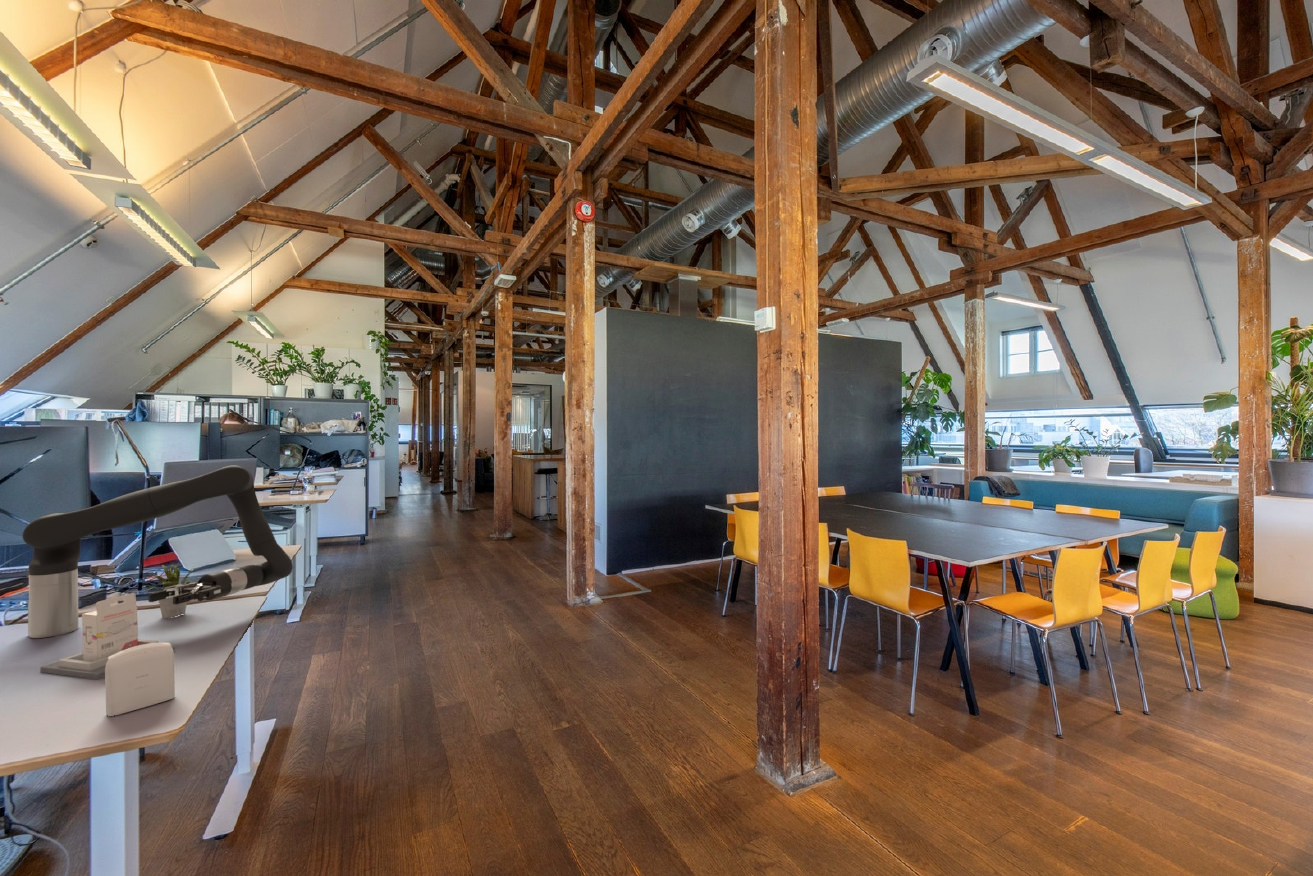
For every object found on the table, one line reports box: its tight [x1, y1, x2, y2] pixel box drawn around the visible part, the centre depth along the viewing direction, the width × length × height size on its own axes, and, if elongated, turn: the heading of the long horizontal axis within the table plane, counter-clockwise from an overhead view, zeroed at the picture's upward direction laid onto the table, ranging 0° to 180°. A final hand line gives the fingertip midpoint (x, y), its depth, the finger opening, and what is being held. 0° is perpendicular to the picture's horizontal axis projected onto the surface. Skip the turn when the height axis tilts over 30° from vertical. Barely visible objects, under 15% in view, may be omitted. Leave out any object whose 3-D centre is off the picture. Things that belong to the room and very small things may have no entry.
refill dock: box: [40, 638, 176, 680], centre depth 132 cm, size 18×16×3 cm
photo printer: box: [104, 642, 176, 717], centre depth 110 cm, size 10×4×12 cm, turn 140°
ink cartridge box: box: [81, 592, 139, 662], centre depth 132 cm, size 9×5×15 cm, turn 168°
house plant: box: [141, 563, 199, 619], centre depth 165 cm, size 14×14×16 cm
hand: (161, 599), depth 143 cm, fingers open, 8 cm apart
